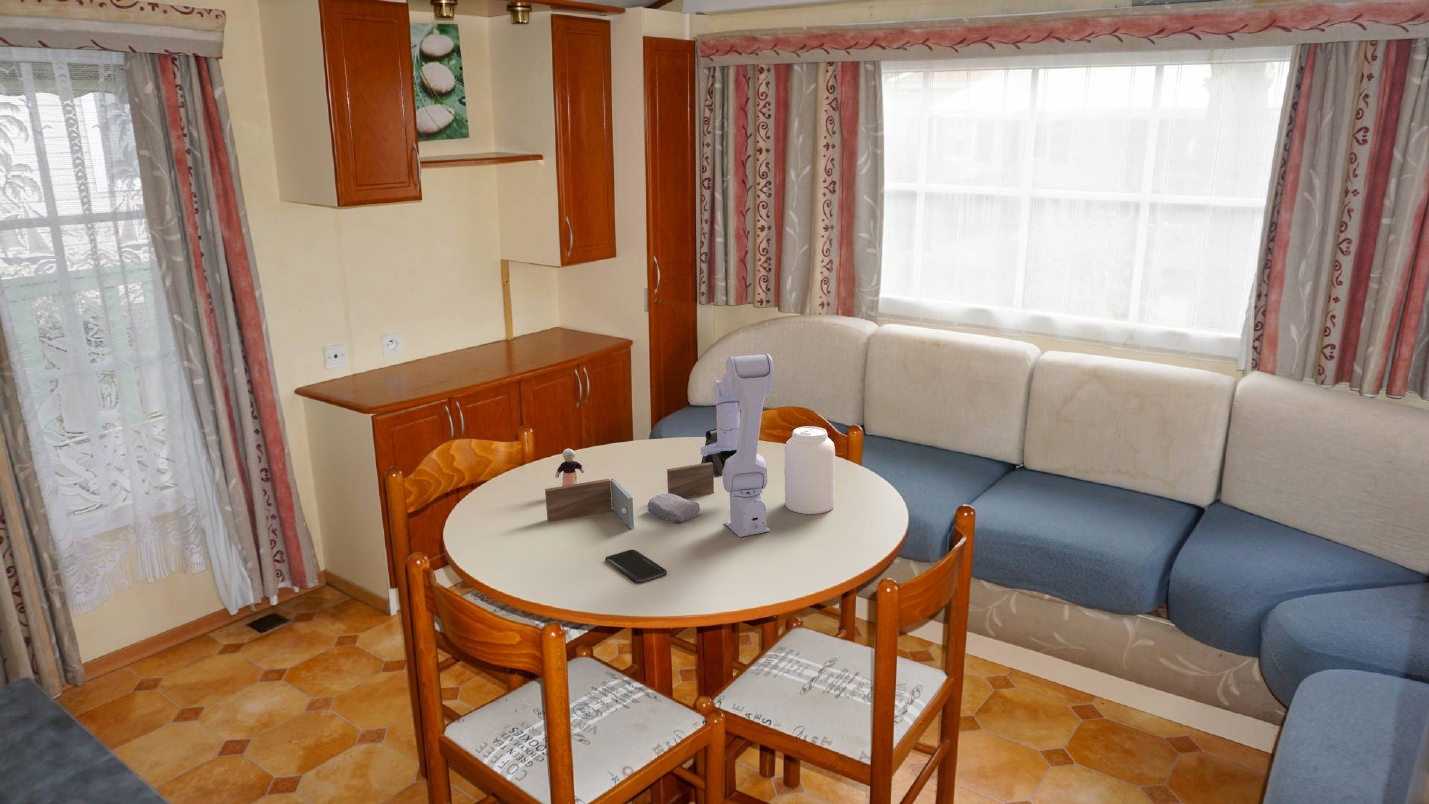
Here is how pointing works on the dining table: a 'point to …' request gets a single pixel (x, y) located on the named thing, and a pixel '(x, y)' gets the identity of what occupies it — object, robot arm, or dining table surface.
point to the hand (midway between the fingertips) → (729, 478)
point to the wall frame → (598, 493)
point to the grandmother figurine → (569, 468)
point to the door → (622, 503)
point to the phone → (635, 566)
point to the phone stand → (713, 458)
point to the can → (809, 471)
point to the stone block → (673, 508)
